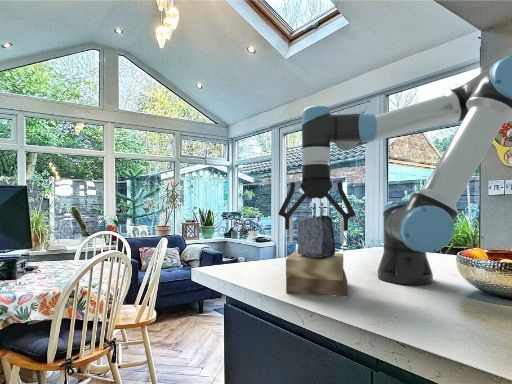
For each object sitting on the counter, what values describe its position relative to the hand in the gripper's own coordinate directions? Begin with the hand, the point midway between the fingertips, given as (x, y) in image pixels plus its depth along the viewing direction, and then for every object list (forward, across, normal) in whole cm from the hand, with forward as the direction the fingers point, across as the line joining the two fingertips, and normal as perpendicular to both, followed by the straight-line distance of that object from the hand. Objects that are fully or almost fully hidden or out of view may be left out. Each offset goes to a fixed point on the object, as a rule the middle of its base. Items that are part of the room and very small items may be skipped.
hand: (316, 242), depth 94 cm
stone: (+4, 0, 0) cm, 4 cm away
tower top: (+8, 0, 0) cm, 8 cm away
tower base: (+13, 0, 0) cm, 13 cm away
